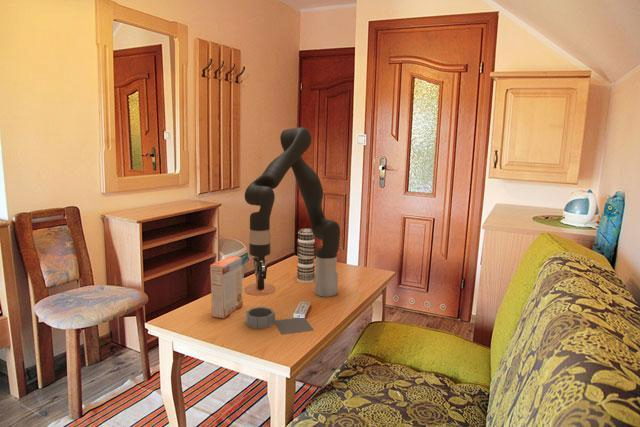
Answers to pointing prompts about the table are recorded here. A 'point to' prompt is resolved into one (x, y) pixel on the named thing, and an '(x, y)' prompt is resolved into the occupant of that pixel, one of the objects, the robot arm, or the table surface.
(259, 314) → the bowl
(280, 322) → the mat
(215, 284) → the cracker box
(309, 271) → the decorative candle
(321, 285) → the robot arm
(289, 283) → the table surface
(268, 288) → the lid
